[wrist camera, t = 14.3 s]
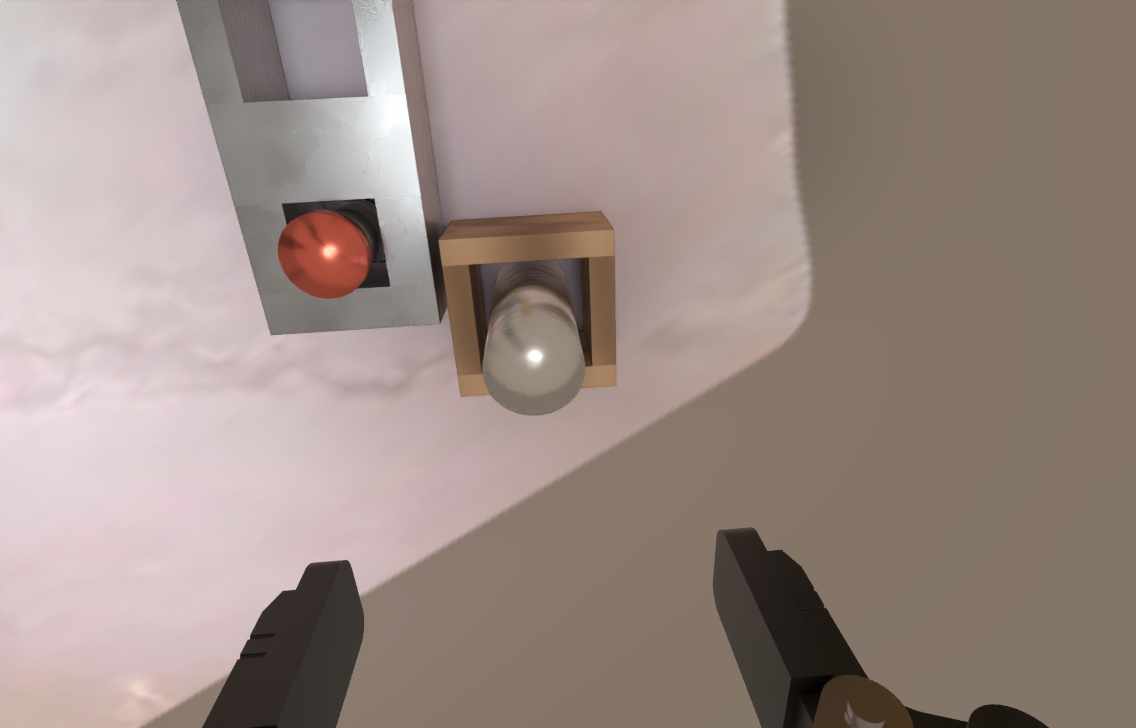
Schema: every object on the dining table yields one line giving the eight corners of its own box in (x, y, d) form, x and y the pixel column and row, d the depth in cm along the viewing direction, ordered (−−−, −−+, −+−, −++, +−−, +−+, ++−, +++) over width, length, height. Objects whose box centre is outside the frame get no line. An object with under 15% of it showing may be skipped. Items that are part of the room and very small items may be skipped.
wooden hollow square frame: (469, 357, 34) (460, 396, 29) (451, 220, 30) (438, 240, 26) (604, 348, 34) (616, 385, 29) (601, 211, 31) (614, 229, 26)
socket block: (307, 302, 32) (270, 335, 27) (222, -45, 25) (154, -79, 21) (452, 293, 32) (440, 323, 27) (405, -53, 25) (378, -87, 21)
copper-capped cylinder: (333, 266, 30) (289, 301, 24) (317, 195, 28) (267, 216, 23) (402, 261, 30) (374, 296, 25) (390, 191, 29) (357, 210, 23)
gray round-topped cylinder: (499, 323, 33) (487, 418, 23) (492, 254, 31) (476, 325, 21) (568, 318, 33) (586, 411, 23) (565, 250, 31) (583, 319, 21)
